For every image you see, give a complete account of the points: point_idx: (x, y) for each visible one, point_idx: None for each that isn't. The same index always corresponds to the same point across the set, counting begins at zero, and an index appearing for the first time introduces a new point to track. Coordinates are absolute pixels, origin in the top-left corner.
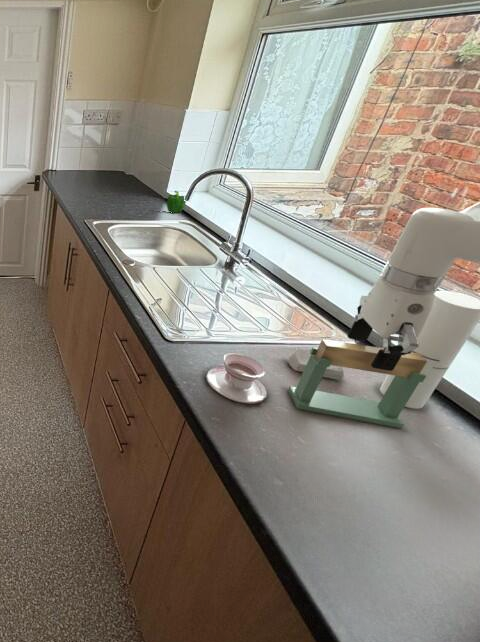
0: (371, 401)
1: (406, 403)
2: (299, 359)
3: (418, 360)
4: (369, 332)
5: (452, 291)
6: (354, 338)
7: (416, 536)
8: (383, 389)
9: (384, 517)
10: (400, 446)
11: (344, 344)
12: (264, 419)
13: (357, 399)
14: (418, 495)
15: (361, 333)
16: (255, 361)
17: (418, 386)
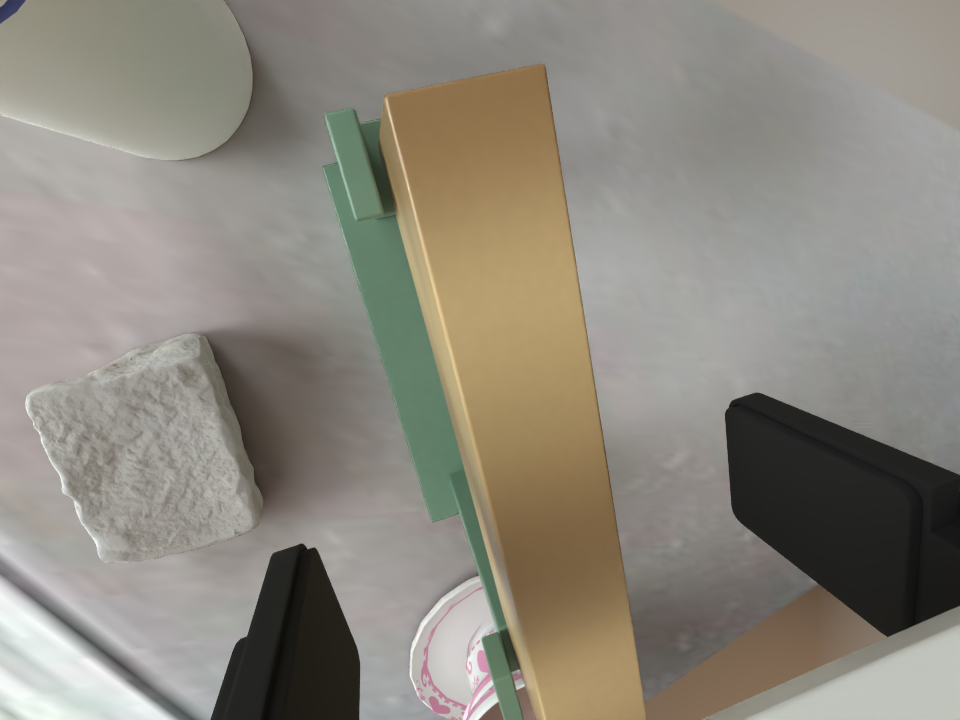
0: (352, 238)
1: (248, 67)
2: (217, 534)
3: (554, 158)
4: (301, 641)
5: None
6: (346, 631)
7: (904, 228)
8: (177, 154)
9: (872, 288)
10: (575, 175)
11: (578, 704)
12: (631, 548)
13: (375, 295)
14: (779, 183)
15: (333, 670)
16: (479, 715)
17: (205, 6)
